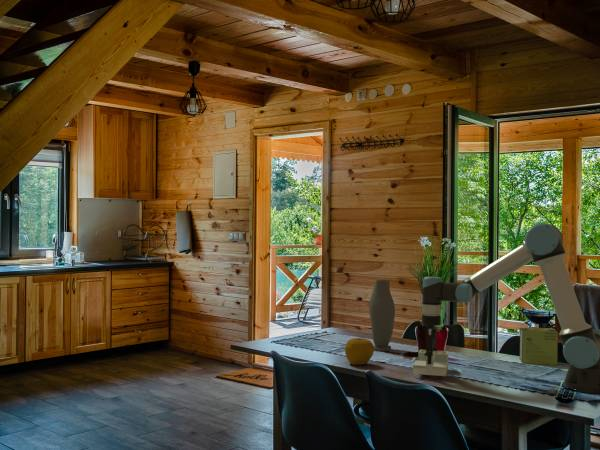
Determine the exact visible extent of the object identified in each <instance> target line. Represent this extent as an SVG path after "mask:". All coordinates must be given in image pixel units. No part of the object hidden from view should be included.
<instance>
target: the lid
mask: <svg viewBox="0 0 600 450" xmlns="http://www.w3.org/2000/svg"><path fill="white" fill-rule="evenodd" d="M448 370H449V362H448V363H445V362H433V373H432V372H426V361H418V359H417V360H416V359H415V360H414V362H413V364H412V374H413V375H426V376H435V377H437V376H439V377H447V373H448V372H449V371H448Z"/></svg>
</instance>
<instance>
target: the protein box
mask: <svg viewBox="0 0 600 450" xmlns="http://www.w3.org/2000/svg"><path fill="white" fill-rule="evenodd" d="M558 332H559V331H558V330H557V329H555V328H551V327H548V328H546V327H524V326H520V327H519V361H520V360H521V361H520V362H521V363H522V364H527V363H531V364H530V365H542V364H549V365H548V366H558V346H559V345H558V337H559V336H558V335H559V333H558Z"/></svg>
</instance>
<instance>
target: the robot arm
mask: <svg viewBox="0 0 600 450" xmlns="http://www.w3.org/2000/svg"><path fill="white" fill-rule="evenodd" d="M563 241H564V237H563V234H562V231H561V230H560V229H559V228H558V227H556V226H555V225H552V224H550V223H546V222H540V223H537V224H534V225H532V226H530V227H529V228H528V229H527V231H526V233H525V235H524V239H523V241H522V244H520V245H519V246H517V247H515V248H514V249H512V250H510V251H509V252H507V253H506V254H504V255H502V256H501V257H499V258H498V259H496V260H494V261H492V262H491V263H490V264H488V265H487V266H484V267H483V268H482V269H480V270H478V271H477V272H475V273H473V274H472V275H470V276H469V277H467V278H465V279H464V280H462V281H459V282H445V281H442V279H443V278H442V277H440V276H424V277H423V280H422V304H421V306H422V307H421V313H422V314H423V315H422V316H421V324H422V325H425V326H427V328H426V329H425V334H426V335H425V336H426V337H425V339H426V345H425V346H426V347H425V348H426V349H425V350H426V353H424V356H426V372H432V373H433V362H435V351H438V348H437V347H436V338H437V329H436V328H437V327H436V326H440V325H441V324H442V316H441V314H442V310H443V309H444V308H443V306H442V302H455V303H461V304H462V303H470V302H471V301H472V299H473V298H474V297H475V296H476V295H478V294H479V293H481V292H482V291H484V290H486V289H487V288H489V287H491V286H493V285H494V284H495V283H498V282H499V281H501V280H502V279H504V278H505V277H508V276H509V275H511V274H512V273H514V272H516V271H518V270H520V269H521V268H523V267H525V266H526V265H527V264H529V263H531V262H533V264H535V265H537V266H538V267H539V268H540V270H541V274H542V276H543V280H544V283H545V285H546V288H547V291H548V293H549V296H550V300H551V302H552V305H553V309H554V311H555V314H556V317H557V320H558V323H559V326H560V328H561V330H560V331H559V333H558V335H559V336H558V337H559V338H560V342H561V344H562V354H563V357H564V359H565V360H566V362H567V363H568V365H569V366H568V369H567V372H566V375H565V378H564V380H563V387H564V386H565V387H568V388H572V389H576V390H577V391H576V392H579V393H584V394H585V393H586V394H600V329H596V328H593V326H592V324H588V323H587V322H586V320H585V317H584V314H583V312H582V308H581V305H580V303H579V300H578V297H577V294H576V292H575V288H574V286H573V283H572V280H571V278H570V275H569V272H568V269H567V267H566V266H567V265H566V263H565V260H564V259H565V257H566V255H567V253H566V250H565V248H564V244H563ZM565 387H564V388H565Z"/></svg>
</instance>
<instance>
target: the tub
mask: <svg viewBox="0 0 600 450" xmlns="http://www.w3.org/2000/svg"><path fill="white" fill-rule="evenodd" d="M424 353H426V349H419V351H418V354H417V355H418V356H417V360H418V361H426V356H424ZM435 362H445V363H448V364H449V351H445V350H437V351H435Z"/></svg>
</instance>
